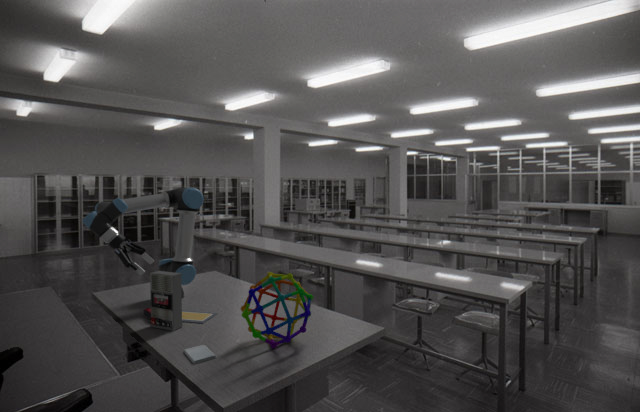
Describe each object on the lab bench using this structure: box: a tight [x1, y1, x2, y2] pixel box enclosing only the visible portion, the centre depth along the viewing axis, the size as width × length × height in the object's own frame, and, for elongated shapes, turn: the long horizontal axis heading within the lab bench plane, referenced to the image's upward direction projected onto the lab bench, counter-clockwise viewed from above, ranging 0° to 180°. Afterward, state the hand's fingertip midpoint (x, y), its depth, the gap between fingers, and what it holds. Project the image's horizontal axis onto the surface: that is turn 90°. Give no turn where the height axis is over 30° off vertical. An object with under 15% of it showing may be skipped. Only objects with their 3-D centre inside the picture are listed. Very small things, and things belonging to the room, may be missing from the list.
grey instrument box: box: [149, 270, 184, 332], centre depth 169 cm, size 14×6×25 cm, turn 67°
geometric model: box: [240, 271, 314, 349], centre depth 151 cm, size 30×30×30 cm
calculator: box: [143, 307, 151, 321], centre depth 184 cm, size 11×4×15 cm
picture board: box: [182, 309, 218, 324], centre depth 183 cm, size 14×21×1 cm, turn 78°
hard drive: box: [183, 344, 217, 365], centre depth 141 cm, size 2×8×12 cm
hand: (148, 267), depth 182 cm, fingers open, 13 cm apart
